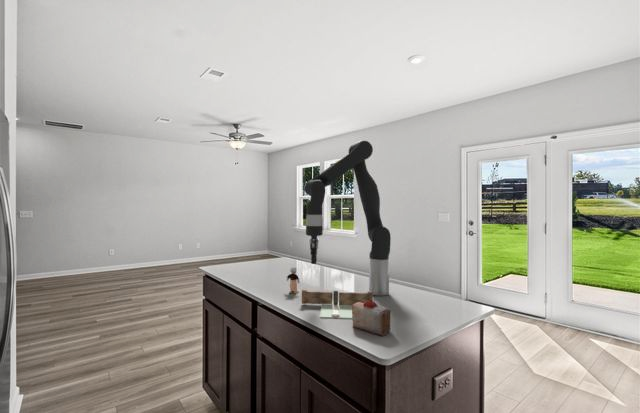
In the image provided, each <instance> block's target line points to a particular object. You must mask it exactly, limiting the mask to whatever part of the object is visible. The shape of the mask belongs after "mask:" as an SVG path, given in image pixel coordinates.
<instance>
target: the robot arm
mask: <svg viewBox="0 0 640 413" xmlns="http://www.w3.org/2000/svg"><path fill="white" fill-rule="evenodd" d="M373 149H374V148H373V146H372V144H371V142H369V141H368V140H359V141H357V142H356V143H353V144H351V145H350V146H349V148H348V154H346V155H345V156H344V157H342V158H341V159H339V160H337V161H336V162H334V163H333V164H331V165H330V166H328V167H327V168H326V169H325V170H323V171H322V172H321V173H319V174H318V175H316V176H314V177H313V178H311V179H310V180H308V181H307V182H306V183H305V185H304V192H305V194H306V195H308V196H309V197H310V200H309V201H308V202H307V204H306V218H305V234H306V236H307V237H308V236H309V237H310V239H309V250H310V256H311V257H310V258H311V259H310V262H311V263H310V264H312V265H316V264H317V255H318V250H319V242H320V241H319V240H320V239H319V238H318V237H319V236H320V237H321V236H323V235H324V232H323V230H324V229H323V228H324V226H323V225H324V224H323V223H324V220H323V219H324V218H323V203H324V201H325V196H326V187H328V186H331V185H333V184H334V183H335V182H337V181H338V180H339V179H340V178H341V177H343V176H344V175H346V173H347V172H349V171H350V170H351V169H352V170H353V172H354V175H355V180H356V183H357V184H356V185H357V188H358V194H359V196H360V197H359V198H360V201H361V206H362V208H363V212H364V215H365V220H366V226H367V236H368V238H369V240H370V242H371V249H370V252H369V258H368V259H369V263H368V265H369V267H368V269H369V271H368V273H369V274H368V275H369V278H368V280H369V281H368V291H371V292H373V296H379V297H381V296H389V295H390V275H389V262H390V261H389V256H390V253H391V233H390V230H389V229H388V228H387V227H386V226H384V224H383V222H382V218H381V215H380V214H381V213H380V210H381V208H380V207H381V204H380V203H381V199H380V193H379V189H378V185H377V183H376V181H375V179H374V178H373V177H372V176H371V174H370V173H369V171H368V168H367V165H366V160H368V159H369V158H370V157H372V155H373V151H374V150H373Z"/></svg>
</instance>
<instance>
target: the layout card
mask: <svg viewBox="0 0 640 413" xmlns="http://www.w3.org/2000/svg"><path fill="white" fill-rule="evenodd" d="M319 318H320V319H341V318H343V319H345V320H346V319H347V320H352V319H353V318H352V306H347V305H339V300H338V304H337V305H334V304H333V300H332V304H321V308H320V314H319Z"/></svg>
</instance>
